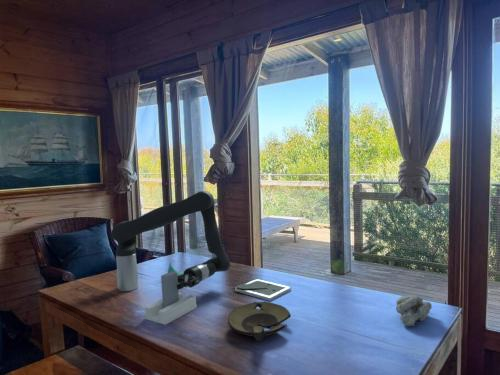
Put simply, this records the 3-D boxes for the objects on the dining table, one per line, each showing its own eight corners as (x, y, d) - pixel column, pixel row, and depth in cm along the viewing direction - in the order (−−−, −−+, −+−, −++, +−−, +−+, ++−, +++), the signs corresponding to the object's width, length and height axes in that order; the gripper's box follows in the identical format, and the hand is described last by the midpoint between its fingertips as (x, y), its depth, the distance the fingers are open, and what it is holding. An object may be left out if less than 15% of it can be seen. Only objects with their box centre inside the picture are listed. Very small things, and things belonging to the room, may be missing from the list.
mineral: (442, 310, 135) (428, 284, 138) (430, 325, 121) (414, 296, 124) (411, 318, 142) (398, 294, 145) (396, 334, 129) (383, 306, 131)
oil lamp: (298, 318, 139) (297, 298, 138) (271, 359, 111) (270, 335, 111) (244, 311, 148) (244, 292, 147) (207, 347, 120) (206, 324, 120)
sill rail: (145, 318, 144) (144, 307, 144) (177, 302, 159) (176, 292, 159) (165, 324, 138) (164, 312, 138) (196, 307, 153) (196, 296, 153)
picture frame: (235, 292, 170) (270, 302, 156) (234, 286, 170) (269, 296, 156) (257, 283, 182) (291, 291, 168) (256, 277, 182) (291, 285, 168)
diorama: (200, 273, 201) (199, 257, 200) (170, 283, 186) (169, 267, 185) (186, 269, 209) (185, 254, 208) (156, 279, 194) (155, 263, 193)
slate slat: (163, 312, 147) (161, 275, 146) (174, 306, 152) (171, 271, 151) (168, 313, 145) (166, 276, 144) (179, 308, 150) (177, 272, 149)
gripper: (184, 263, 165) (156, 274, 151) (208, 267, 157) (182, 279, 143) (185, 280, 165) (158, 291, 152) (209, 284, 157) (183, 297, 144)
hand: (169, 285), depth 147 cm, fingers open, 8 cm apart
